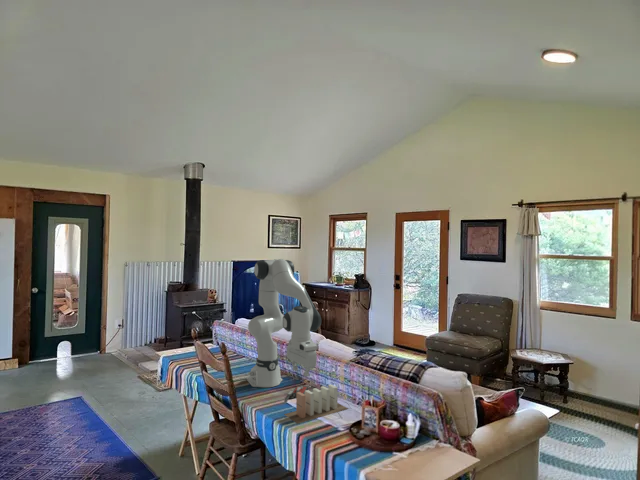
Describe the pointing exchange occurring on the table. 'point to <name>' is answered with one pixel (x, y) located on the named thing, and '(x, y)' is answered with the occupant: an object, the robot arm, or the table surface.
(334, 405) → the domino
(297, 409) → the domino
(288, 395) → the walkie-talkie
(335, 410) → the board
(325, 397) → the domino
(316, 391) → the domino
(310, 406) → the domino
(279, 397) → the table surface
